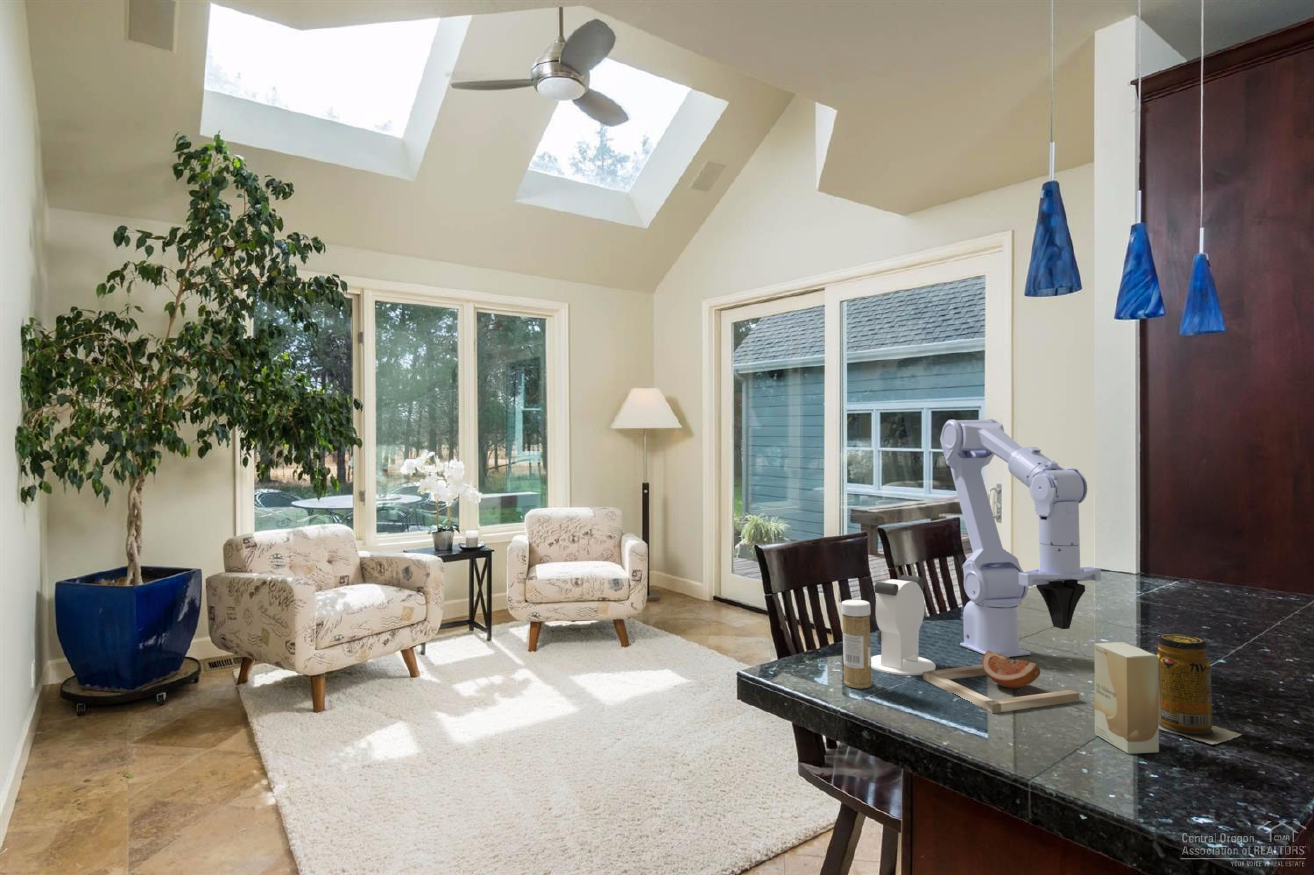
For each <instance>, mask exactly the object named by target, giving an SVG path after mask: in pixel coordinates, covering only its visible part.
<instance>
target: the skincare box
mask: <svg viewBox="0 0 1314 875" xmlns="http://www.w3.org/2000/svg"><path fill="white" fill-rule="evenodd" d="M1093 647H1094V734H1095V735H1096V736H1098V737H1100V738H1101V739H1102V740H1104V741H1106V742H1108V743H1109V744H1111V745H1112V746H1114V747H1116V748H1117V749H1119V750H1121V751H1123V752H1124V753H1126V754H1130V755H1131V754H1149V753H1150V754H1151V753H1159V752H1160V743H1159V742H1160V740H1159V739H1160V733H1159V732H1160V729H1159V680H1158V656H1157V655H1158V654H1154V653H1153V652H1152V653H1151V652H1149V651H1147V650H1144V649H1142V648H1140V647H1138V646H1133V645H1131V644H1130V643H1126V642H1124V641H1120V642H1119V641H1116V642H1100V643H1099V642H1098V643H1096V642H1095V643H1094V646H1093Z"/></svg>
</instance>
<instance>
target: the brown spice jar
mask: <svg viewBox="0 0 1314 875" xmlns="http://www.w3.org/2000/svg"><path fill="white" fill-rule="evenodd" d="M840 610H841V616H842V655H843V658H842V659H843V660H842V661H843V671H844V672H843V674H844V679H843V683H844V685H845V686H847V687H849V688H851V689H852V688H854V689H859V690H860V689H868V688H870V687H872V686H873V681H872V680H873V679H872V668H871V657H872V647H871V626H870V625H871V624H870V617H871V614H872V613H871V603H870V602H869V601H867V600H862V599H845V600H843V601H841V608H840Z"/></svg>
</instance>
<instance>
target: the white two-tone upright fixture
mask: <svg viewBox="0 0 1314 875" xmlns="http://www.w3.org/2000/svg"><path fill="white" fill-rule="evenodd" d="M924 582H925V581H924V578H923V577H922V576H915V575H907V574H901V576H900V578H899V579H893V578H891V579H888V580H886V581H884V582H882V581H876V582H875V584H874V592H875V594H877V595H876V599H875V600H876V601H875V607H874V609H875V621H876V624H877V627H878V628H879V630H878V631H877V636H876V639H877V642H878V643H879V644H881V649H880V650H881V654H877V655H873V656H871V669H873V670H876V671H878V672H881V673H885V672H886V673H885V674H890V673H891V675H899V676H923V672H926V671H934V670H937V669H936V664H935V663H934V662H933V661H932V660H930V659H927V658H925V657H922V656H919V644H920V643H919V641H920V640H919V637H920V635H919V634H920V633H919V631H920V628H921V627H922V624H923V621H924V616H925V611H926V610H925V599H924V598H925V597H924V594H923V591H924V587H925V583H924Z"/></svg>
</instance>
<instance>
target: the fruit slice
mask: <svg viewBox="0 0 1314 875" xmlns="http://www.w3.org/2000/svg"><path fill="white" fill-rule="evenodd" d="M981 660H982V661H981V665H982V667H983V669H984V671H985V673H986V674H987V675H986V676H988V677H989V678H990V680H992V681H993V682H994V683H995V684H998V685H999V686H1002V687H1004V688H1009V689H1020V688H1024V687H1026V686H1028V685H1030V684H1032V683H1033V682H1034V681H1036V680H1037V679H1038V678H1039V677H1040V676H1041V669H1040V667H1039V666H1038V664H1037V663H1036V662H1035V663H1034V662H1031V661H1027V660H1023V659H1012V658H1010V657H1007V656H1005V655H1001V654H998V653H995V652H991V651H987V652H986V653H985V655H984V654H983V656H982V659H981Z"/></svg>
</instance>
